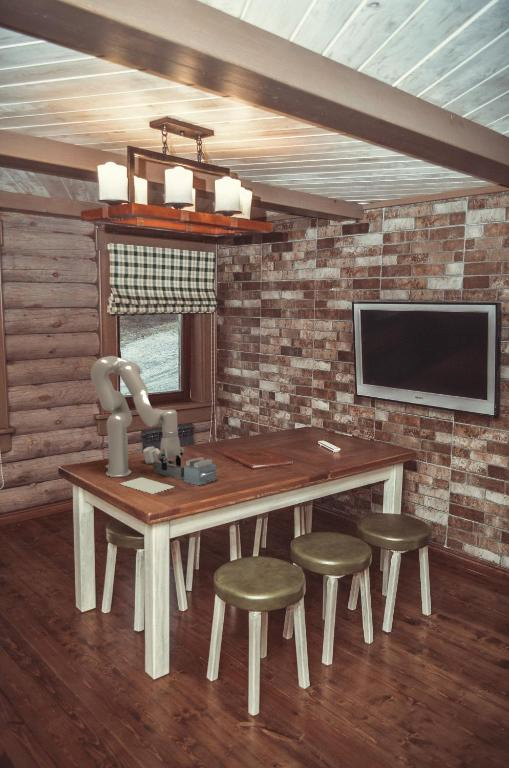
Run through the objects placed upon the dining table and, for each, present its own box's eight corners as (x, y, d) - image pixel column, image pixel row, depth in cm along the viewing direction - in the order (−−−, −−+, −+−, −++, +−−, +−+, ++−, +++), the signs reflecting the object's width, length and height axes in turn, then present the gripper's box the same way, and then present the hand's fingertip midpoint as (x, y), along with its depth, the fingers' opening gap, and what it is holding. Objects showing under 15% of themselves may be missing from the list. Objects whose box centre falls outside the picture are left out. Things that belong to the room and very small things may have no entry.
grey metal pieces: (155, 474, 301) (155, 454, 300) (172, 469, 310) (172, 450, 309) (200, 486, 281) (200, 465, 280) (217, 481, 290) (218, 460, 289)
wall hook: (164, 464, 317) (160, 446, 317) (146, 468, 320) (142, 450, 319) (169, 461, 325) (165, 443, 325) (152, 464, 328) (148, 446, 327)
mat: (118, 484, 283) (118, 483, 283) (141, 478, 294) (141, 477, 294) (152, 494, 268) (152, 493, 268) (175, 487, 279) (174, 486, 279)
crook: (153, 472, 304) (153, 461, 303) (166, 469, 311) (166, 457, 310) (180, 479, 292) (180, 468, 291) (193, 476, 299) (193, 464, 298)
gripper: (177, 430, 305) (178, 463, 307) (152, 436, 291) (153, 470, 293) (187, 432, 300) (189, 465, 302) (162, 438, 287) (163, 473, 289)
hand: (171, 467), depth 298 cm, fingers open, 9 cm apart
